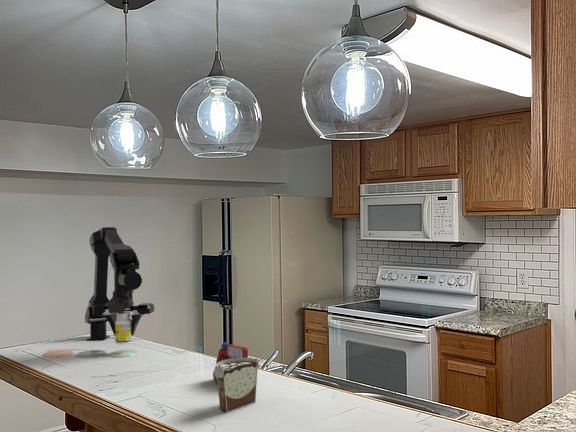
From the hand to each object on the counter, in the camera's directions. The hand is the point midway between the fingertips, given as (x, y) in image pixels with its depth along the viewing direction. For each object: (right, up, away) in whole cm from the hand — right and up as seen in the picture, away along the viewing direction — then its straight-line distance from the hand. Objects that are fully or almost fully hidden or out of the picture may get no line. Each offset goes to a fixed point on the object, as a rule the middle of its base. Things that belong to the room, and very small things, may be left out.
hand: (124, 335), depth 193 cm
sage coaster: (0, -7, 0) cm, 7 cm away
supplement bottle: (0, -3, 0) cm, 3 cm away
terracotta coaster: (-22, -7, +1) cm, 23 cm away
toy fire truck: (+39, -5, -37) cm, 54 cm away
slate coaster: (-11, -7, +1) cm, 13 cm away
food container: (+40, -5, -56) cm, 69 cm away
